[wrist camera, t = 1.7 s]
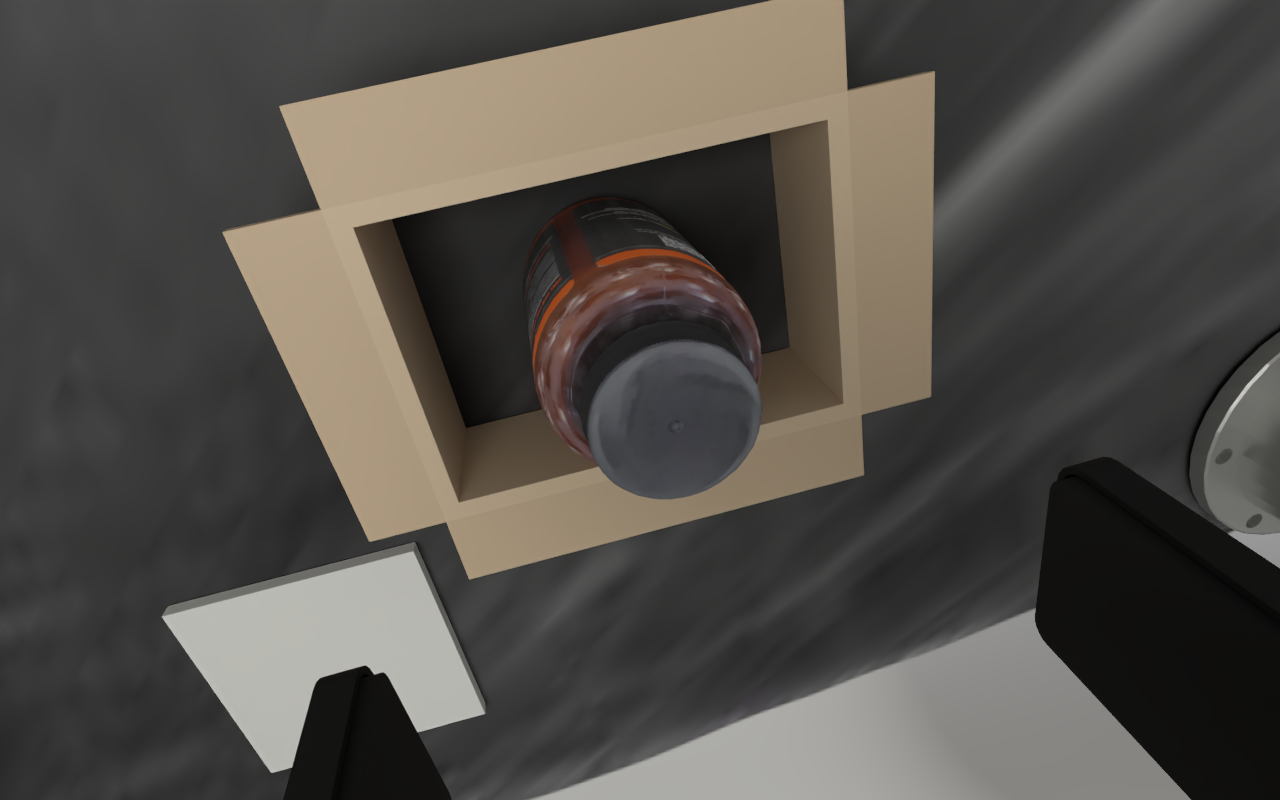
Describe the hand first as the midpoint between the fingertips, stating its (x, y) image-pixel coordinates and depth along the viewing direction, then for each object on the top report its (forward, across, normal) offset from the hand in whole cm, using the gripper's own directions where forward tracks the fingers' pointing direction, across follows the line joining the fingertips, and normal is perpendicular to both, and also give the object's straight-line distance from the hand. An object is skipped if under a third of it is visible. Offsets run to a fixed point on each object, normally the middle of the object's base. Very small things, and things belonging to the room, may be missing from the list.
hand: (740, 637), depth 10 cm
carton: (+18, -1, 0) cm, 18 cm away
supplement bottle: (+18, -1, 0) cm, 18 cm away
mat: (+18, +14, +14) cm, 27 cm away
